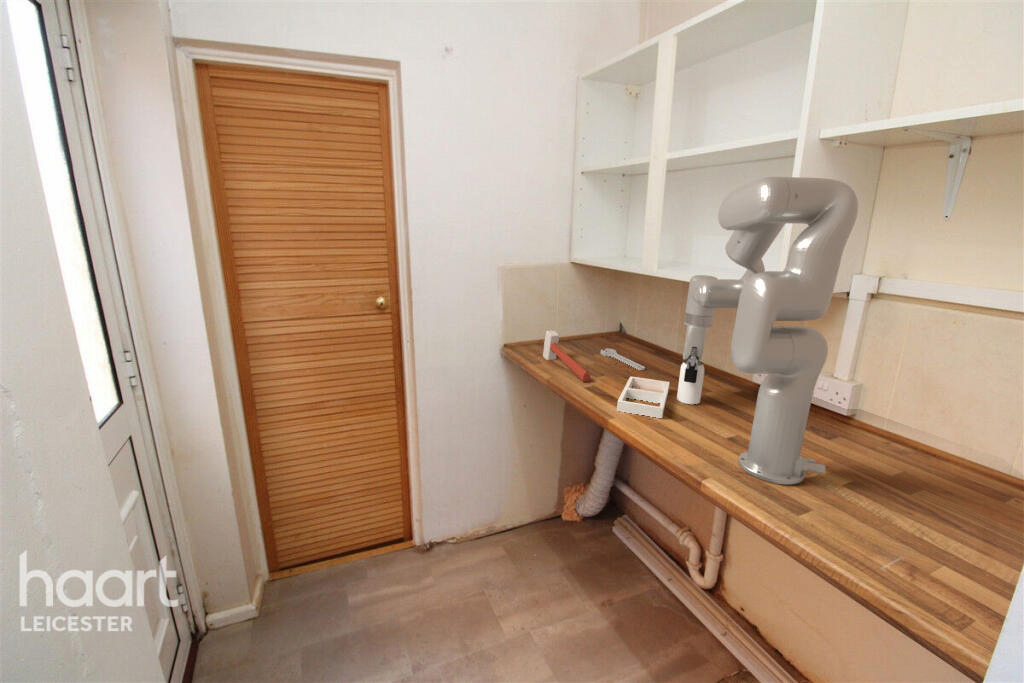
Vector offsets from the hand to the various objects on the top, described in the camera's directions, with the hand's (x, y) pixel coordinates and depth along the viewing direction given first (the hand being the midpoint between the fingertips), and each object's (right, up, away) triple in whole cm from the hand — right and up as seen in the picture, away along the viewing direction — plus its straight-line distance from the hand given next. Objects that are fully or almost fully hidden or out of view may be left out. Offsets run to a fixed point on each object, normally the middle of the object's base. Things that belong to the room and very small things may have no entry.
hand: (690, 376), depth 136 cm
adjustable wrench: (-11, +3, +39) cm, 41 cm away
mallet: (-34, 0, +28) cm, 44 cm away
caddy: (-13, -7, +1) cm, 15 cm away
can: (0, -8, +1) cm, 8 cm away
